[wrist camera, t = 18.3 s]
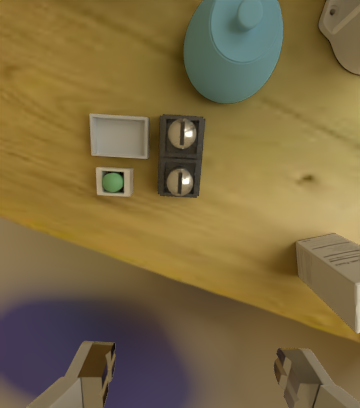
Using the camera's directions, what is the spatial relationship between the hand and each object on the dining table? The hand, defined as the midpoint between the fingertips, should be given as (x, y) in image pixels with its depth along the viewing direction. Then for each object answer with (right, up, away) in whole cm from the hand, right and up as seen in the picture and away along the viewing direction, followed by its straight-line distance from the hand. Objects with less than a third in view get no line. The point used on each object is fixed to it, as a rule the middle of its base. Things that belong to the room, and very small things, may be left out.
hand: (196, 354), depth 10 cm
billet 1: (0, +19, +26) cm, 32 cm away
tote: (-12, +20, +27) cm, 35 cm away
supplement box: (+29, -4, +34) cm, 45 cm away
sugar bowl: (+7, +32, +24) cm, 41 cm away
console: (-13, +12, +29) cm, 34 cm away
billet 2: (-1, +13, +28) cm, 30 cm away
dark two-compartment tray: (-1, +16, +28) cm, 32 cm away
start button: (-13, +12, +28) cm, 33 cm away
